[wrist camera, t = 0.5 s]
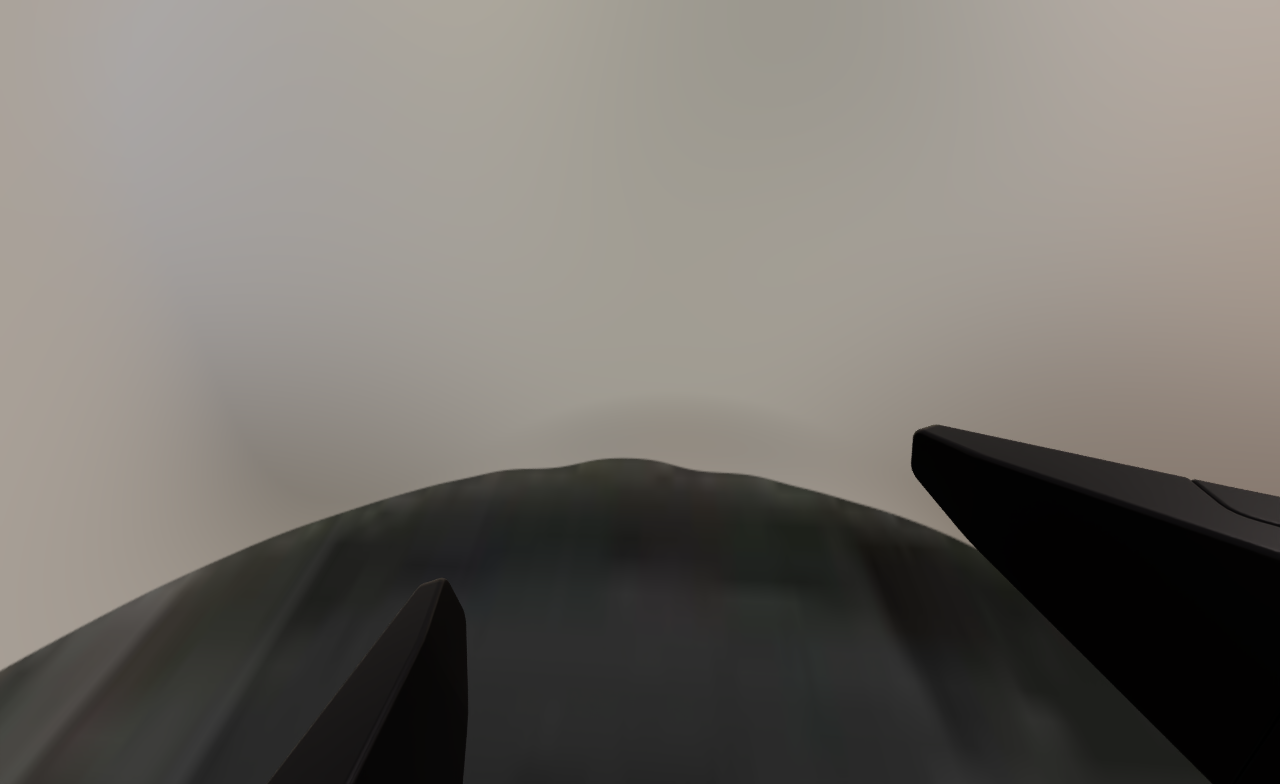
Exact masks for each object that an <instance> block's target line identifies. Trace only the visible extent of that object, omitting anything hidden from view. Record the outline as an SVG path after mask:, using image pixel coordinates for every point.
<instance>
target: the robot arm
mask: <svg viewBox="0 0 1280 784" xmlns="http://www.w3.org/2000/svg"><path fill="white" fill-rule="evenodd" d="M911 467H912V471H913V473H914V475H915V477H916V478H917V479H918V480H919V482H920V483H921V484H922V486H923V487H924V488H925V489H926V490H927V492H928V493H929V494H930V495H931V496H932V497H933V499H934V500H935V501H936V502H937V504H938V505H939V506H940V507H941V508H942V510H943V511H944V512H945V513H946V514H947V516H948V517H949V518H950V519H951V520H952V522H953V523H954V524H955V525H956V526H957V528H958V529H959V530H960V531H961V532H962V533H963V534H964V536H965V537H966V538H967V539H968V540H969V541H970V542H971V543H972V544H973V545H974V547H975V548H976V549H977V550H978V551H979V552H980V553H981V554H982V555H983V556H984V557H985V558H986V559H987V560H988V561H989V562H990V563H991V564H992V565H993V566H994V567H995V568H996V569H997V570H998V571H999V572H1000V573H1001V574H1002V575H1003V576H1004V577H1005V578H1006V579H1007V580H1008V581H1009V582H1010V583H1011V584H1012V585H1013V586H1014V587H1015V588H1016V589H1017V590H1018V591H1019V592H1020V593H1021V594H1022V595H1023V596H1024V597H1025V598H1026V599H1027V600H1028V601H1029V602H1030V603H1031V604H1032V605H1033V606H1034V607H1035V608H1036V609H1037V610H1038V611H1039V612H1040V613H1041V614H1042V615H1043V616H1044V617H1045V618H1046V619H1047V620H1048V621H1049V622H1050V623H1051V624H1052V625H1053V626H1054V627H1055V628H1056V629H1057V630H1058V631H1059V632H1060V633H1061V634H1062V635H1063V636H1064V637H1065V638H1066V639H1067V640H1068V641H1069V642H1070V643H1071V644H1072V645H1073V646H1074V647H1076V648H1077V649H1078V650H1079V651H1080V652H1081V653H1082V654H1083V655H1084V656H1085V657H1086V658H1087V659H1088V660H1089V661H1090V662H1091V663H1092V664H1093V665H1094V666H1095V667H1096V668H1097V669H1098V670H1099V671H1100V672H1101V673H1102V674H1103V675H1104V676H1105V677H1106V678H1107V679H1108V680H1109V681H1110V682H1111V683H1112V684H1113V685H1114V686H1115V687H1116V688H1117V689H1118V690H1119V691H1120V692H1121V693H1122V694H1123V695H1124V696H1125V697H1126V698H1127V699H1128V700H1129V701H1130V702H1131V703H1132V704H1133V705H1134V706H1135V707H1136V708H1137V709H1138V710H1139V711H1140V712H1141V713H1142V714H1143V715H1144V716H1145V717H1146V718H1147V719H1148V720H1149V721H1150V722H1151V723H1152V724H1153V725H1154V726H1155V727H1156V728H1157V729H1158V730H1159V731H1160V732H1161V733H1162V734H1163V735H1164V736H1165V737H1166V738H1167V739H1168V740H1169V741H1170V742H1171V743H1172V744H1173V745H1174V746H1175V747H1176V748H1177V749H1178V750H1179V751H1180V752H1181V753H1182V754H1183V755H1184V756H1185V757H1186V758H1187V759H1188V760H1189V761H1190V762H1191V763H1192V764H1193V765H1194V766H1195V767H1196V768H1197V769H1198V770H1199V771H1200V772H1201V773H1202V774H1203V775H1204V776H1205V777H1206V778H1207V779H1208V780H1209V781H1210V782H1211V783H1212V784H1280V497H1278V496H1273V495H1268V494H1263V493H1258V492H1253V491H1248V490H1243V489H1238V488H1234V487H1228V486H1224V485H1219V484H1214V483H1210V482H1205V481H1201V480H1196V479H1195V480H1190V479H1188V478H1186V477H1181V476H1177V475H1172V474H1167V473H1163V472H1158V471H1153V470H1148V469H1144V468H1139V467H1134V466H1130V465H1125V464H1120V463H1115V462H1111V461H1106V460H1102V459H1097V458H1092V457H1087V456H1083V455H1078V454H1073V453H1069V452H1064V451H1059V450H1055V449H1050V448H1045V447H1040V446H1036V445H1031V444H1026V443H1022V442H1017V441H1012V440H1008V439H1003V438H998V437H994V436H989V435H984V434H980V433H975V432H970V431H965V430H960V429H956V428H951V427H947V426H942V425H931V426H928V427H925V428H922V429H919V430H917V431H916V432H915V433H914V435H913V443H912V458H911ZM467 723H468V677H467V640H466V619H465V614H464V611H463V608H462V606H461V604H460V602H459V600H458V598H457V597H456V595H455V593H454V591H453V589H452V587H451V585H450V583H449V582H448V581H447V580H446V579H444V578H440V579H437V580H433V581H430V582H427V583H424V584H422V585H420V586H419V587H418V588H417V589H416V591H415V592H414V593H413V594H412V596H411V597H410V598H409V600H408V601H407V602H406V604H405V605H404V606H403V607H402V609H401V610H400V611H399V613H398V614H397V615H396V616H395V618H394V619H393V620H392V622H391V623H390V624H389V626H388V627H387V628H386V629H385V631H384V632H383V633H382V635H381V636H380V637H379V639H378V640H377V641H376V642H375V644H374V645H373V646H372V648H371V649H370V650H369V652H368V653H367V654H366V655H365V657H364V658H363V659H362V661H361V662H360V663H359V665H358V666H357V667H356V668H355V670H354V671H353V672H352V674H351V675H350V676H349V677H348V679H347V680H346V681H345V683H344V684H343V685H342V687H341V688H340V689H339V690H338V692H337V693H336V694H335V696H334V697H333V698H332V700H331V701H330V702H329V703H328V705H327V706H326V707H325V709H324V710H323V711H322V713H321V714H320V715H319V716H318V718H317V719H316V720H315V722H314V723H313V724H312V725H311V727H310V728H309V729H308V731H307V732H306V733H305V735H304V736H303V737H302V738H301V740H300V741H299V742H298V744H297V745H296V746H295V748H294V749H293V750H292V751H291V753H290V754H289V755H288V757H287V758H286V759H285V761H284V762H283V763H282V764H281V766H280V767H279V768H278V770H277V771H276V772H275V773H274V775H273V776H272V777H271V779H270V780H269V781H268V783H267V784H463V773H464V761H465V749H466V737H467Z"/></svg>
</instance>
